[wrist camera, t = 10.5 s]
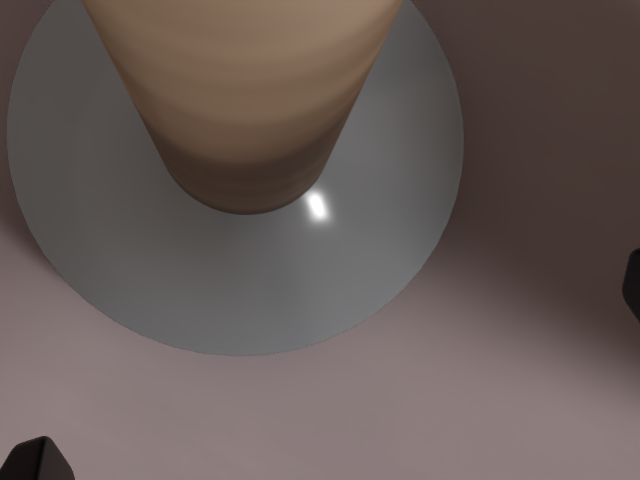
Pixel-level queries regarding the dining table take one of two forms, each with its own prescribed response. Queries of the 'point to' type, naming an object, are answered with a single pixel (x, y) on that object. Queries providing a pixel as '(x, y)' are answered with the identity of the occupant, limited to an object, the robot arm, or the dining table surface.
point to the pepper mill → (243, 87)
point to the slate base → (224, 228)
